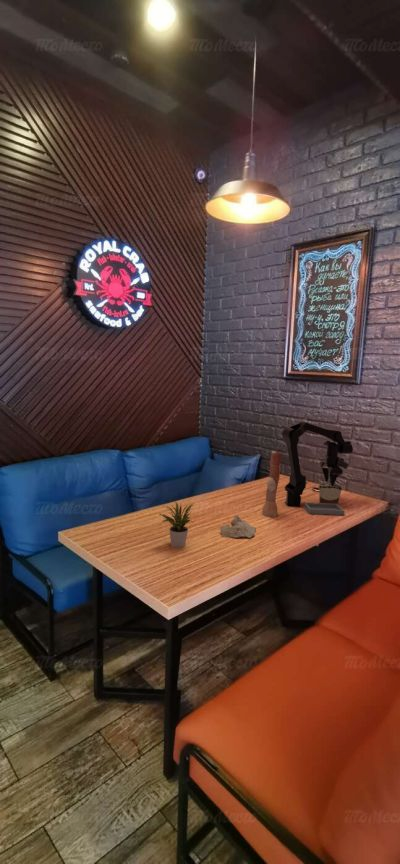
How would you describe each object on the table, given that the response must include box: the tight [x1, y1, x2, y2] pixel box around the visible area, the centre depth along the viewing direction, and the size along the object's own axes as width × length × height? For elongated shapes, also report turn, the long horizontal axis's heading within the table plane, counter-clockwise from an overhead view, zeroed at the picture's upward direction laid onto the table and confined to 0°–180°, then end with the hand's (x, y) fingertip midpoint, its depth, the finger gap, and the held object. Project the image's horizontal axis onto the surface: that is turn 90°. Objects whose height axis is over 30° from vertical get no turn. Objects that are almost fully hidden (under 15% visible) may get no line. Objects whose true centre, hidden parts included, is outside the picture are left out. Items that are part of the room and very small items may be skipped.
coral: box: [219, 514, 257, 539], centre depth 175 cm, size 18×16×5 cm
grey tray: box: [303, 502, 345, 517], centre depth 207 cm, size 17×11×2 cm, turn 91°
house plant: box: [158, 500, 196, 549], centre depth 159 cm, size 14×14×16 cm
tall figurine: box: [261, 450, 282, 518], centre depth 198 cm, size 11×7×30 cm
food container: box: [317, 482, 343, 505], centre depth 222 cm, size 12×6×10 cm, turn 84°
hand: (329, 483), depth 221 cm, fingers open, 9 cm apart
